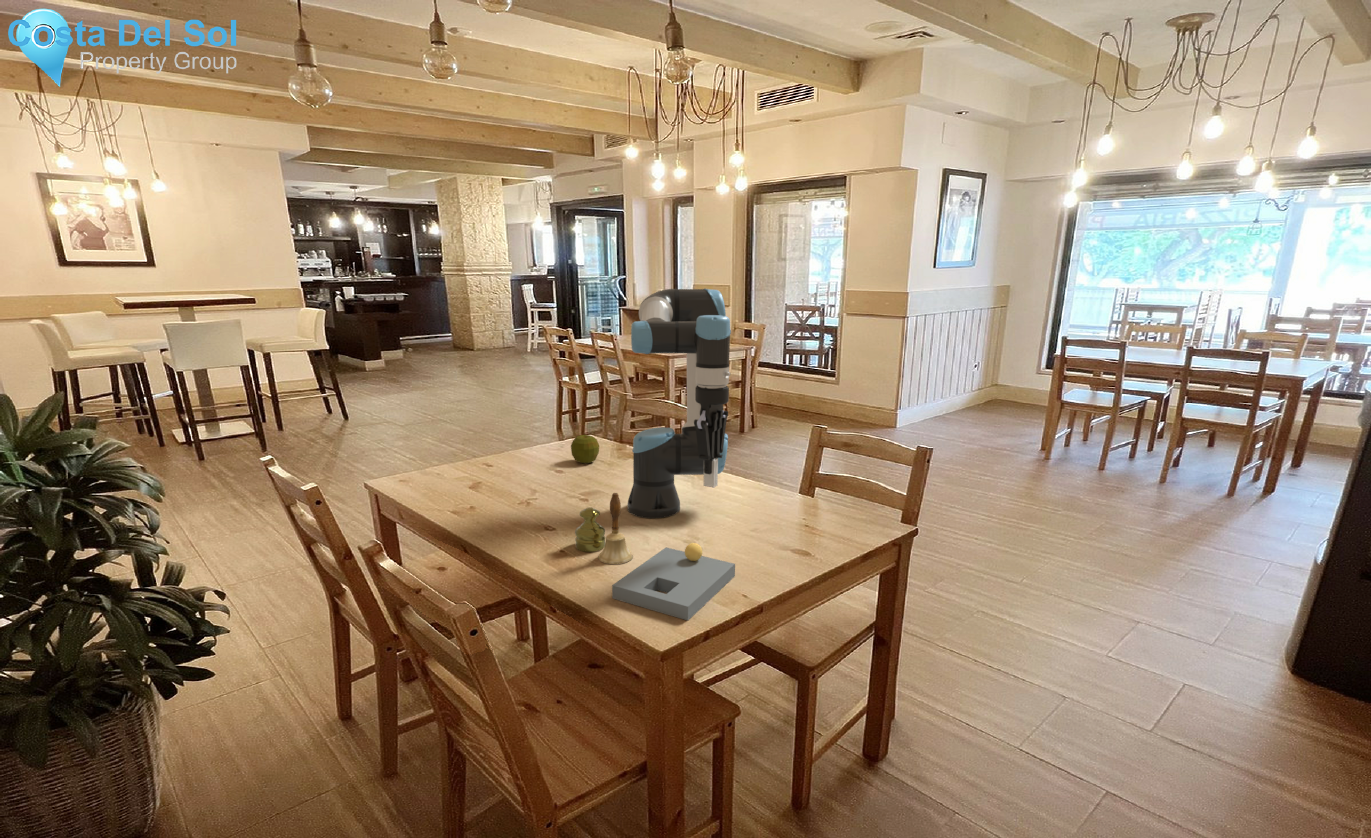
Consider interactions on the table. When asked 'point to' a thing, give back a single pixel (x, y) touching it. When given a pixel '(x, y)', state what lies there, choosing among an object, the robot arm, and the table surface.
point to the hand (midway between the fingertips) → (710, 485)
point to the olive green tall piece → (590, 532)
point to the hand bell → (615, 538)
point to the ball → (693, 552)
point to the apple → (585, 448)
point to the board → (674, 583)
